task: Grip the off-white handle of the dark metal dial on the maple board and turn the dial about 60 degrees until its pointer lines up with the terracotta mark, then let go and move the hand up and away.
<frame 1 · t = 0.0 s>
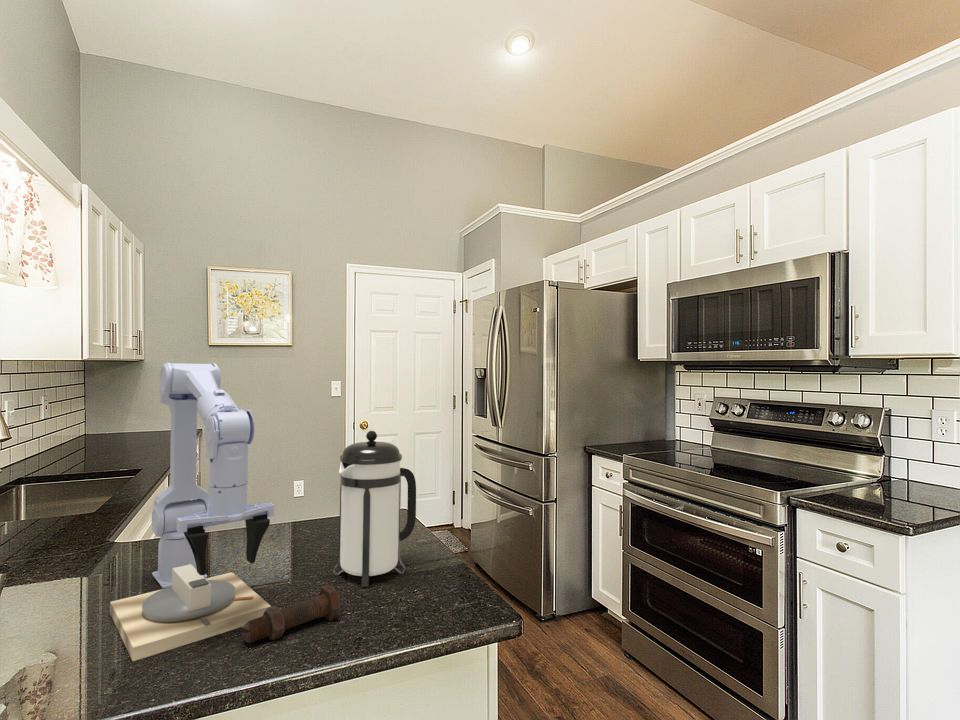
hand: (226, 567, 85), 10 cm above the table, tool pointing down, fingers open, 7 cm apart
coffee press: (373, 572, 110), on the table
dial board: (190, 615, 89), on the table
dial: (190, 588, 89), point 5 cm above the table, hinge at 0.0°
bolt: (291, 631, 85), on the table
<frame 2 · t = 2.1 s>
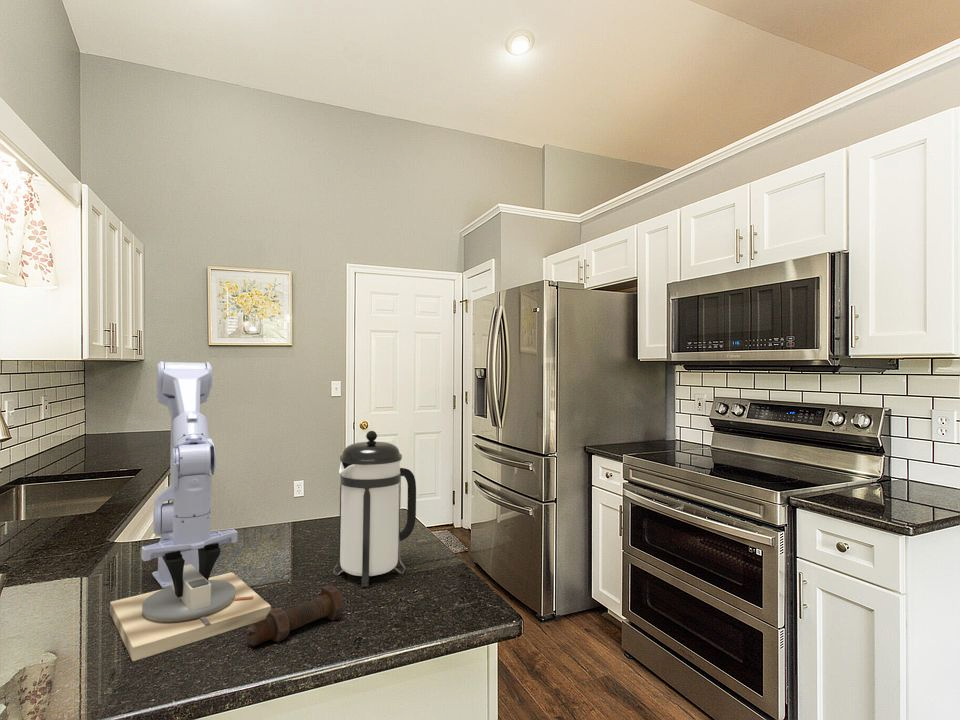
hand: (190, 592, 89), 4 cm above the table, tool pointing down, fingers closed on dial, 3 cm apart
dial: (190, 588, 89), point 5 cm above the table, hinge at 0.0°, touching gripper
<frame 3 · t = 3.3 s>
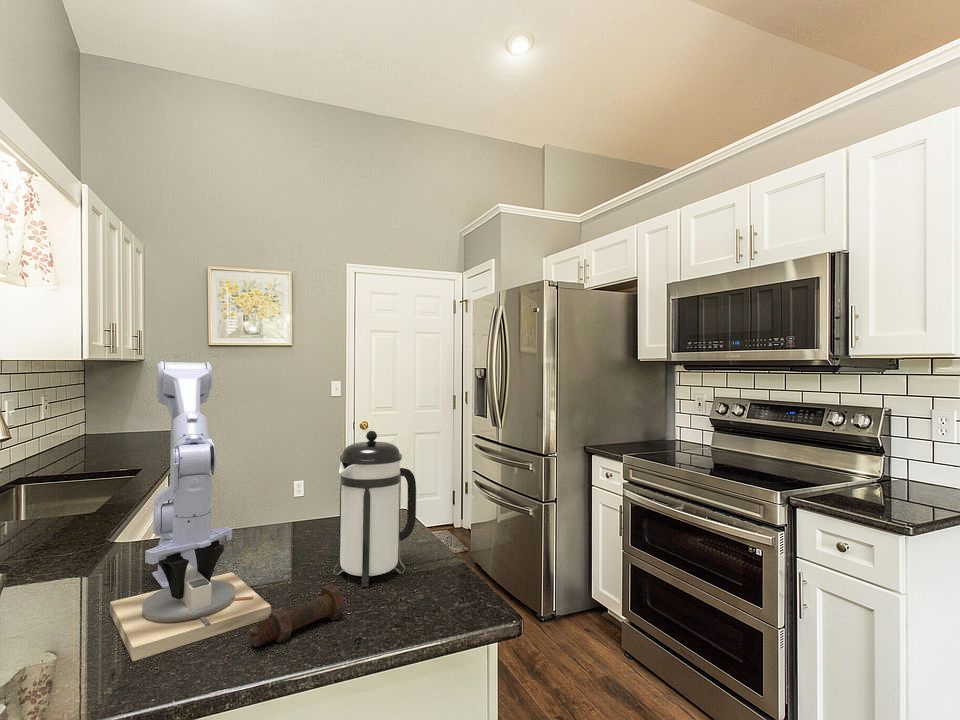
hand: (190, 592, 89), 4 cm above the table, tool pointing down, fingers closed on dial, 4 cm apart
dial: (190, 588, 89), point 5 cm above the table, hinge at 0.9°, touching gripper
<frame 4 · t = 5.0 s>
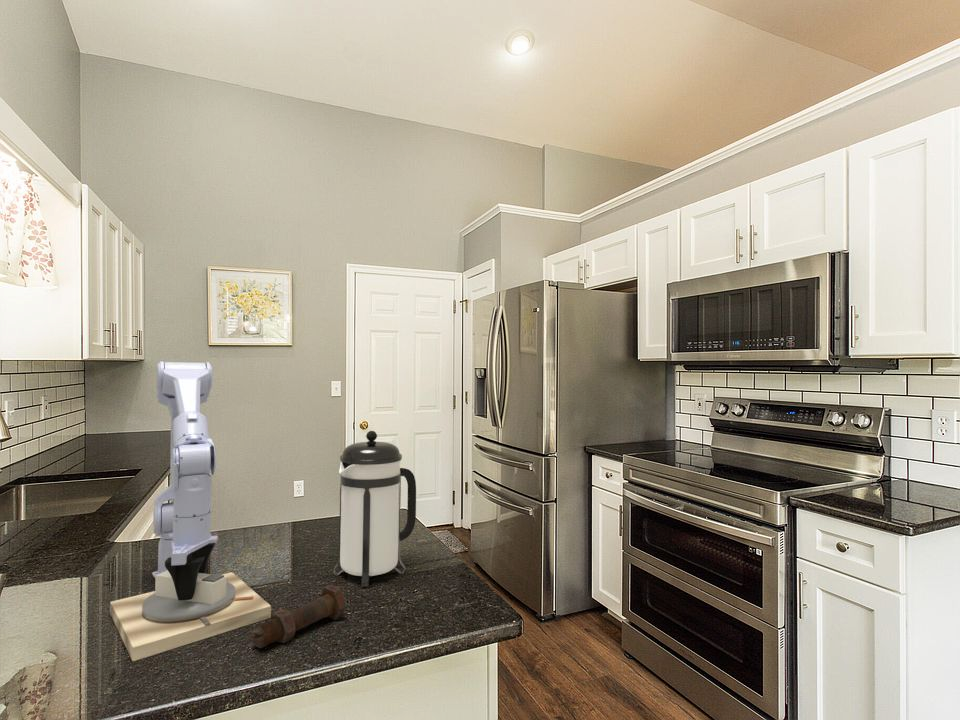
hand: (190, 592, 89), 4 cm above the table, tool pointing down, fingers closed on dial, 5 cm apart
dial: (190, 588, 89), point 5 cm above the table, hinge at 31.9°, touching gripper
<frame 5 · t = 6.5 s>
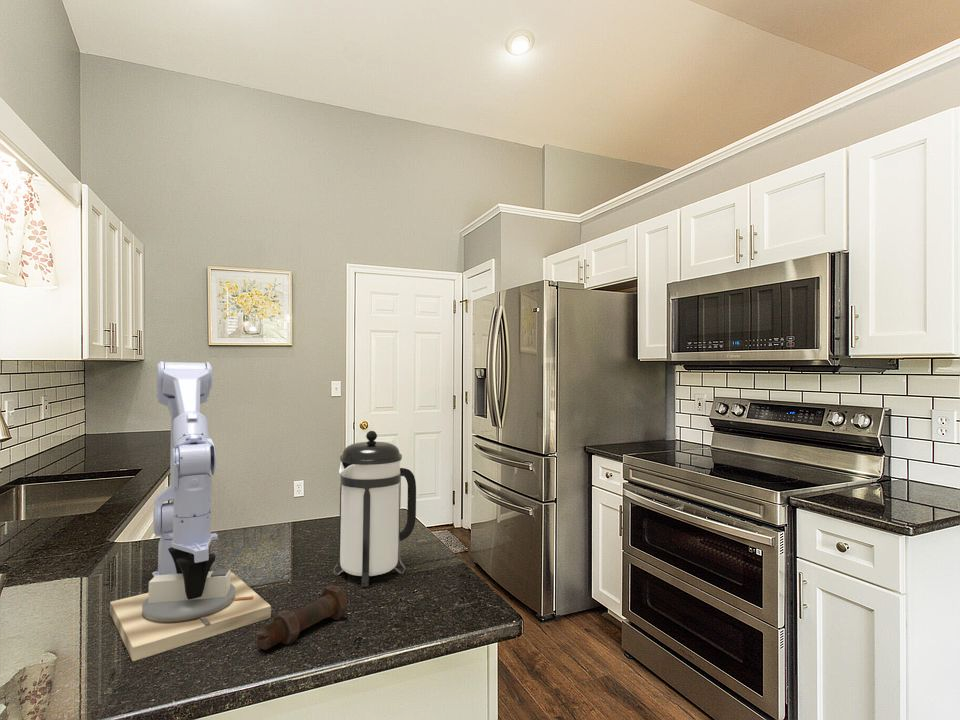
hand: (190, 592, 89), 4 cm above the table, tool pointing down, fingers closed on dial, 5 cm apart
dial: (190, 588, 89), point 5 cm above the table, hinge at 60.1°, touching gripper
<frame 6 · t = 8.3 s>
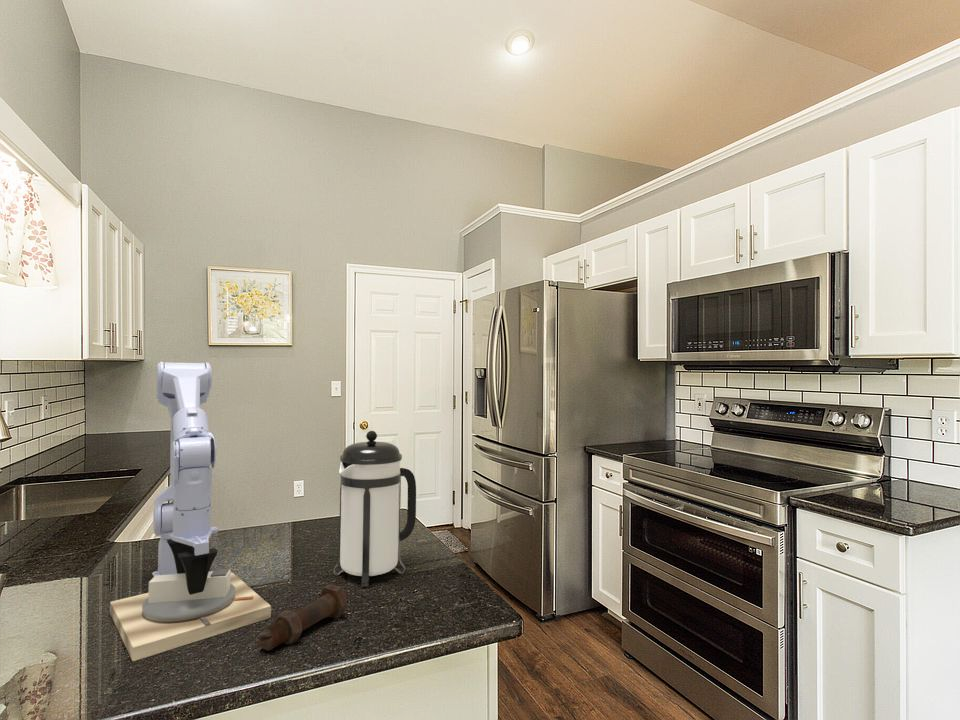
hand: (190, 585, 89), 5 cm above the table, tool pointing down, fingers open, 7 cm apart
dial: (190, 588, 89), point 5 cm above the table, hinge at 60.4°
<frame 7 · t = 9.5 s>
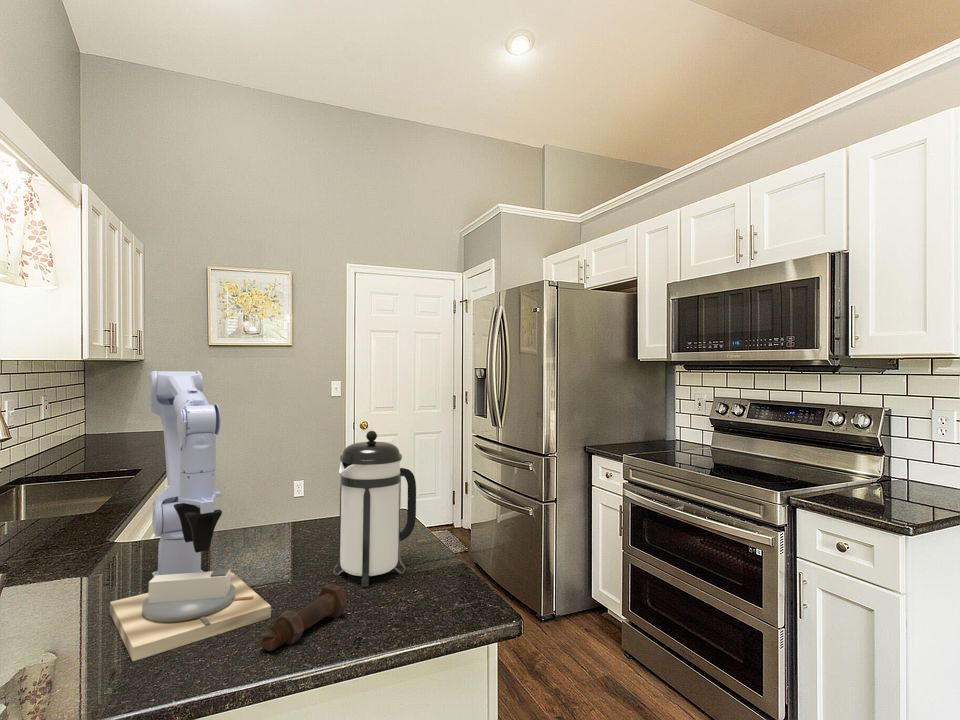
hand: (196, 545, 94), 10 cm above the table, tool pointing down, fingers open, 7 cm apart
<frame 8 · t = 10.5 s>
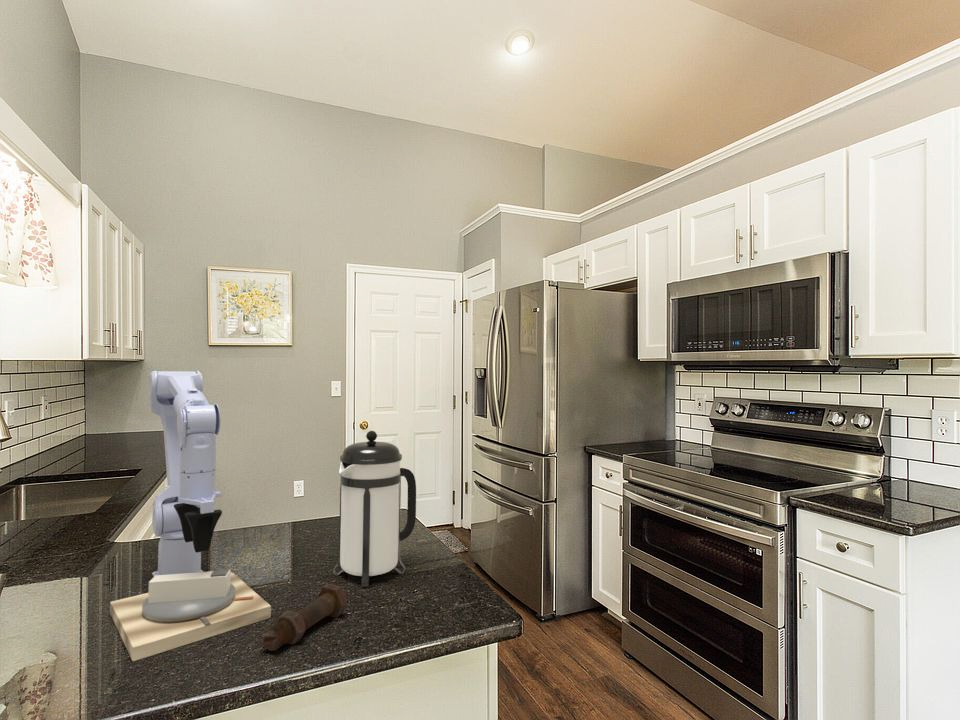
hand: (196, 545, 94), 10 cm above the table, tool pointing down, fingers open, 7 cm apart
at the end: dial at +60° (first picture: +0°); the gripper is holding nothing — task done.
